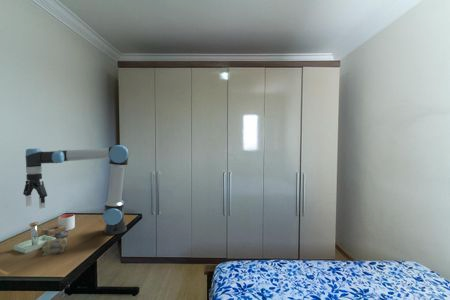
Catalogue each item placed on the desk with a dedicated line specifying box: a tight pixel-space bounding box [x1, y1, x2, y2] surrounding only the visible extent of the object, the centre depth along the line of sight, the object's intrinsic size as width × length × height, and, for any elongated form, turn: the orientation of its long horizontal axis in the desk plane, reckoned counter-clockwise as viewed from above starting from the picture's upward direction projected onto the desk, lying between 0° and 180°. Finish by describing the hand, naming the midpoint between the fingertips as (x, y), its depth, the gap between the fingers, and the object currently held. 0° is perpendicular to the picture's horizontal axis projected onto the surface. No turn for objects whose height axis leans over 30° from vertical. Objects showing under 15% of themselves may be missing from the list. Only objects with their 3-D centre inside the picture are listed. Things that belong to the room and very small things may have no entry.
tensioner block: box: [41, 224, 69, 239], centre depth 166 cm, size 16×10×5 cm, turn 67°
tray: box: [13, 235, 56, 255], centre depth 149 cm, size 12×17×3 cm
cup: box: [58, 213, 76, 232], centre depth 178 cm, size 10×10×10 cm
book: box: [41, 237, 68, 256], centre depth 146 cm, size 15×11×5 cm
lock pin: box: [29, 221, 39, 246], centre depth 149 cm, size 4×4×14 cm
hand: (35, 206), depth 149 cm, fingers open, 13 cm apart
